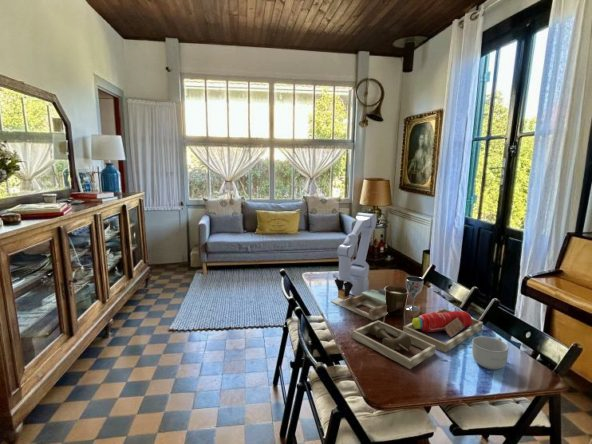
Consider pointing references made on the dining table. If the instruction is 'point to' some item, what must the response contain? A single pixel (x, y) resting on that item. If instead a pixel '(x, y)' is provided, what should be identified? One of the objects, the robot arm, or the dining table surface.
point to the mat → (339, 302)
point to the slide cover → (376, 295)
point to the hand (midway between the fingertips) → (343, 294)
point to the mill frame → (403, 360)
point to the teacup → (490, 352)
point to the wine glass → (413, 290)
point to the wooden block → (342, 294)
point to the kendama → (389, 342)
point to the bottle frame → (451, 343)
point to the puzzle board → (376, 306)
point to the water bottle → (443, 322)
